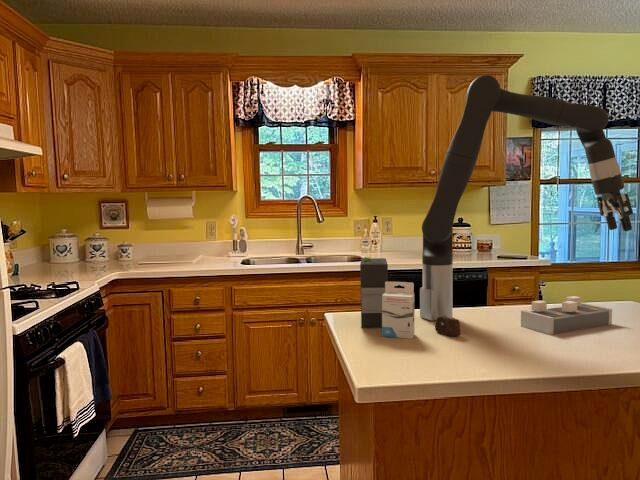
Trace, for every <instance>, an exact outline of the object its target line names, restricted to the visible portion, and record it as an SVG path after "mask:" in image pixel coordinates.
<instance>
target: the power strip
mask: <svg viewBox="0 0 640 480" xmlns="http://www.w3.org/2000/svg"><path fill="white" fill-rule="evenodd" d="M608 325H613V308H610V307H606V306H601V305H596V304H590V303H587V302H581V306H577V311H574V312H566V311H562V306H560V307H551V308H547V310H546V311H539V312H538V311H534V310H531V311H528V310H525V309H524V310H523V309H522V310H520V326H521V327H523V328H525V329H526V328H527V329H528V330H533V331H537V332H539V333H543V334H547V335H554V334H555V335H556V334H560V333H566V332H573V331H579V330H584V329H590V328H596V327H597V328H598V327H603V326H608Z"/></svg>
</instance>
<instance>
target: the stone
mask: <svg viewBox="0 0 640 480" xmlns="http://www.w3.org/2000/svg"><path fill="white" fill-rule="evenodd" d="M434 329H435V332H437V333H438V334H442V335H444V336H445V335H446V336H447V337H458V336H460V335H461V324H460V320H459V319H457V318H455V319H454V318H452V319H451V318H448V317H446V316H441V317H438V318H437V321H436V323H435V325H434Z"/></svg>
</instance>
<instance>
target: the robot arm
mask: <svg viewBox="0 0 640 480" xmlns="http://www.w3.org/2000/svg"><path fill="white" fill-rule="evenodd" d="M465 98H466V103H465V106H464V109H463V113H462V117H461V120H460V122H459V124H458V126H457V128H456V131H455V132H454V134H453V136H452V138H451V140H450V143H449V146H448V148H447V150H446V154H445V156H444V160H443V162H442V165H441V170H440V173H439V177H438V181H437V185H436V186H437V187H436V192H435V195H434V198H433V200H432V202H431V205H430V206H429V210H428V212H427V214H426V216H425V217H424V219H423V221H422V224H421V233H422V258H421V259H422V260H421V261H422V263H421V265H422V287H420V288H419V317H420V318H421V319H425V320H428V321H436V322H437V318H438V317H441V316H446V317H448V318H451V319H454V318H453V314H454V313H453V310H454V309H453V252H454V251H453V250H454V249H453V234H454V232H453V231H454V230H453V225H454V220H455V216H456V212H457V210H458V205H459V202H460V200H461V199H462V196H463V194H464V192H465V191H466V188H467V186H468V184H469V182H470V180H471V177H472V175H473V172H474V169H475V167H476V164H477V160H478V157H479V154H480V150H481V147H482V143H483V139H484V134H485V130H486V128H487V124H488V121H489V119H490V117H491V115H492V112H493V113H494V112H496V113H502V114H509V115H515V116H519V117H523V118H527V119H531V120H535V121H538V122H543V123H546V124H550V125H554V126H558V127H564V126H565V127H566V126H568V127H573V128H575V132H576V134H577V137H578V139H579V140H580V143H581V145H582V147H583V149H584V151H585V152H584V153H585V156H586V160H587V161H586V162H587V164H588V168H589V175H590V178H591V183H592V187H593V189H594V193H595V195H596V196H597V197H596V201H597V204H598V209H599V213H600V216H601V217H604V218H605V220H606V224H607V228H608V230H610V231H613V230H617V228H618V224H617V220H616V218H615V214H617V216H618V217H619V221H620V225H621V229H622V231H623V232H628V231H631V230H633V227H632V223H631V220H630V217H631V215H633V214H634V211H633V209H632V204H631V201H630V197H629V195H628V193H623V194H622V193H621V190H623V189H625V187H626V186H625V183H624V180H623V176H622V172H621V168H620V164H619V162H618V160H617V157H616V153H615V149H614V146H613V142H612V141H611V140H610V138H609V139H608V138H607V137H606V134H605V132H604V129H605V128H606V127H607V125H608V123H609V121H610V117H609V114H608V112H607V111H606V110H605V109H604V108H602V107H600V106H597V105H592V104H585V103H576V102H575V103H574V102H569V101H566V100H562V99H557V98H553V97H551V96H550V97H549V96H543V95H536V94H535V95H533V94H524V93H518V92H517V93H516V92H511V91H508V90H505V89H503V88H501V86H500V82H499V81H498V79H497V78H496V77H494V76H492V75H489V74H484V75H479V76H478V77H477V78H475V79H474V80H472V82H471V83H470V84H469V86H468V88H467V91H466V95H465Z"/></svg>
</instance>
